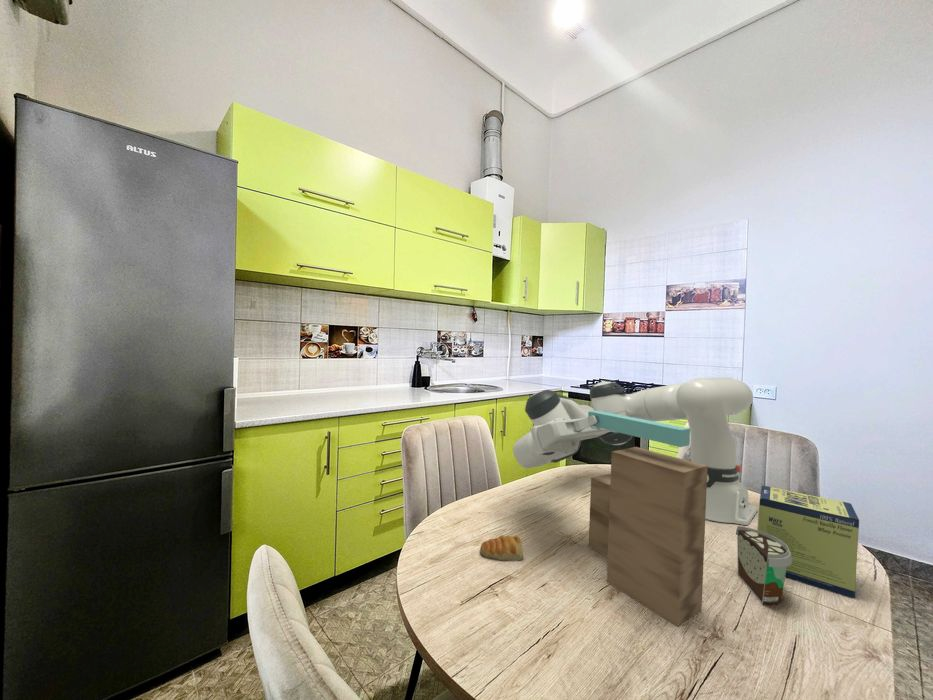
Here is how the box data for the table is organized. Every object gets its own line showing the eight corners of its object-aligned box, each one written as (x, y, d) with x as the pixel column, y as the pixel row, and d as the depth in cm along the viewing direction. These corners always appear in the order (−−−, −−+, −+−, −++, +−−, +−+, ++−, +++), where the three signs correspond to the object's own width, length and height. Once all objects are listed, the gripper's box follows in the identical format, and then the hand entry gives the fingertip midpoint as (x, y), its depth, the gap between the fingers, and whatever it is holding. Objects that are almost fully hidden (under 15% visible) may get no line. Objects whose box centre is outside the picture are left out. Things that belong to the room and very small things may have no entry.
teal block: (596, 423, 85) (597, 410, 85) (689, 445, 69) (690, 428, 69) (587, 425, 84) (588, 411, 84) (680, 447, 67) (681, 430, 67)
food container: (806, 616, 68) (809, 560, 68) (767, 610, 69) (769, 555, 69) (767, 575, 80) (769, 528, 80) (734, 571, 81) (736, 524, 81)
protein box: (857, 600, 73) (861, 519, 73) (755, 568, 83) (758, 496, 83) (848, 575, 81) (852, 502, 81) (756, 549, 91) (759, 484, 91)
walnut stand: (615, 535, 95) (619, 431, 95) (727, 591, 74) (733, 458, 74) (564, 555, 85) (568, 439, 85) (677, 626, 64) (683, 472, 64)
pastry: (482, 563, 82) (483, 545, 82) (477, 547, 88) (478, 530, 88) (525, 561, 83) (526, 544, 83) (517, 545, 89) (518, 529, 89)
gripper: (593, 445, 97) (638, 427, 87) (533, 456, 86) (576, 437, 75) (584, 421, 99) (626, 401, 89) (524, 428, 88) (565, 406, 78)
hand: (603, 417), depth 82 cm, fingers closed on teal block, 3 cm apart
